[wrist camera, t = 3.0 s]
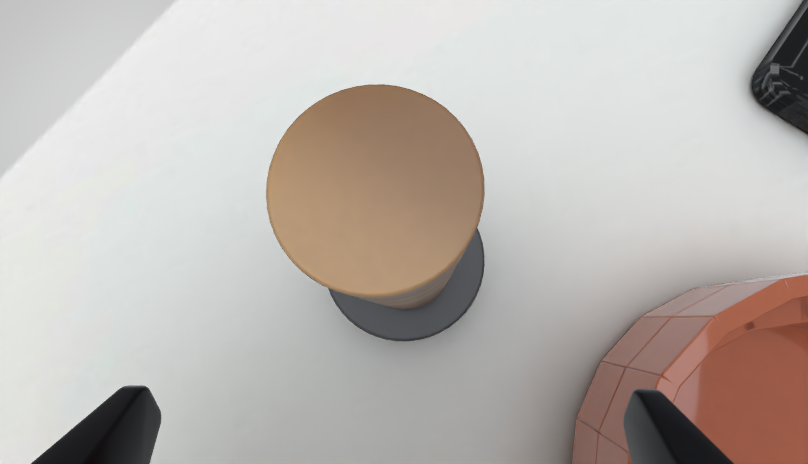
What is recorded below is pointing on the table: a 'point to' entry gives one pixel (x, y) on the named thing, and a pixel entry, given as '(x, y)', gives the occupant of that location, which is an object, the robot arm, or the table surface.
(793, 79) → the phone
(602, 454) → the bowl
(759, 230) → the table surface
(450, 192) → the wooden peg on base
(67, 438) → the robot arm
